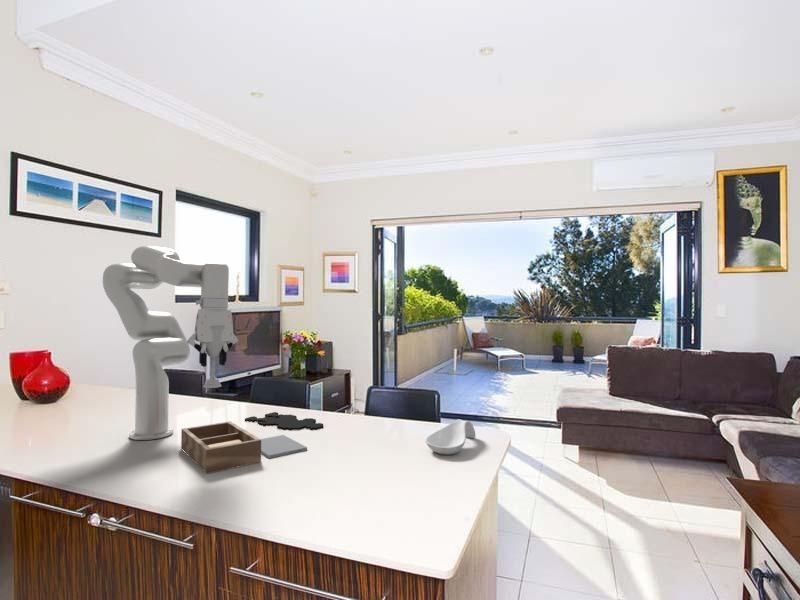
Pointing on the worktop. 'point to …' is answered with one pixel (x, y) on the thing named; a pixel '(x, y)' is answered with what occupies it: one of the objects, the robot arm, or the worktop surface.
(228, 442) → the oak offcut top
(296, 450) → the slate mat
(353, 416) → the worktop surface
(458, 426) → the spoon rest
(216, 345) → the chalice
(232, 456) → the walnut crate
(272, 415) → the black silhouette cutout
